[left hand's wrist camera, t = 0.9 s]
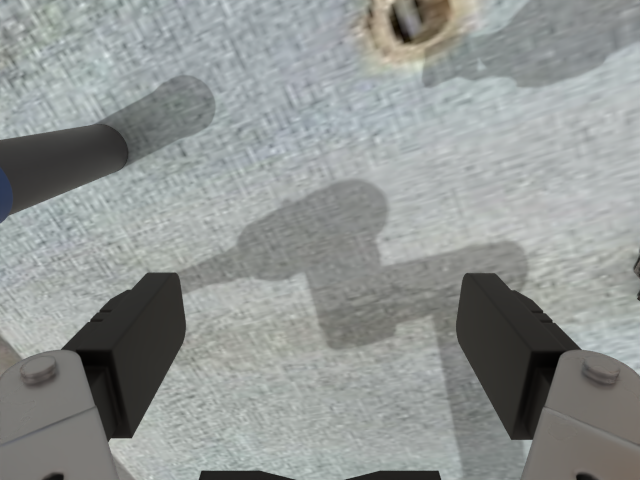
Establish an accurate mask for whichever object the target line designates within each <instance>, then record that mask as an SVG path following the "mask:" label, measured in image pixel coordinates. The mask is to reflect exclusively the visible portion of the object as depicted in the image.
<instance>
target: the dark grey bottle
mask: <svg viewBox="0 0 640 480" xmlns="http://www.w3.org/2000/svg"><path fill="white" fill-rule="evenodd" d="M127 157H128V149H127V145H126V143H125V141H124V139H123V137H122V136H121V135H120V134H119V133H118V132H117V131H116V130H114V129H113V128H111V127H109V126H106V125H102V124H96V125H89V126H83V127H77V128H71V129H65V130H59V131H53V132H47V133H41V134H34V135H28V136H22V137H16V138H10V139H4V140H0V168H1V169H2V170H3V171H4V173H5V174H6V176H7V178H8V180H9V182H10V185H11V188H12V193H13V204H12V208H11V211H10V213H9V215H11V214H14V213H16V212H19V211H21V210H24V209H26V208H28V207H31V206H33V205H36V204H38V203H41V202H43V201H45V200H48V199H50V198H53V197H55V196H58V195H60V194H63V193H65V192H67V191H70V190H72V189H75V188H77V187H80V186H82V185H84V184H87V183H89V182H92V181H94V180H97V179H99V178H101V177H104V176H106V175H109V174H111V173H114V172H116V171H118V170H120V169H121V168H122V167H123V166H124V165H125V163H126V161H127ZM9 215H8V216H9Z"/></svg>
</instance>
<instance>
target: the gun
mask: <svg viewBox="0 0 640 480" xmlns="http://www.w3.org/2000/svg"><path fill="white" fill-rule="evenodd" d="M634 272H635V273H636V275H637V276H638V277H639V278H640V260H639V262H638V264H637V266H636V268H635V270H634ZM637 299H638V300H639V301H640V295H639V296H638V298H637Z"/></svg>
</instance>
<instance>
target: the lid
mask: <svg viewBox="0 0 640 480" xmlns="http://www.w3.org/2000/svg"><path fill="white" fill-rule="evenodd" d="M12 204H13V193H12V188H11V185H10V182H9V180H8V178H7V176H6V174H5V173H4V171H3V170H2V169H1V168H0V223H1V222H3V221H4V220H5V219H6V218H7V216H8V215H9V213H10V211H11V208H12Z"/></svg>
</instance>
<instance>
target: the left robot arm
mask: <svg viewBox="0 0 640 480" xmlns="http://www.w3.org/2000/svg"><path fill="white" fill-rule="evenodd" d="M552 321H553V320H552V319H551V318H550V317H549V316H548V315H547V314H546V313H543V310H542V309H541V308H540V307H539V306H538V305H537V304H536V303H535V302H534V301H533V300H531V299H529V298H528V297H526V296H524V295H522V294H520V293H519V292H517V291H515V290H510V289H509V287H508V286H507V285H506V284H505V283H504V282H503V281H502V280H501V279H500V278H499V277H498V276H497V275H496V274H495V273H466V274H465V275H464V277H463V280H462V286H461V293H460V300H459V307H458V314H457V321H456V332H457V338H458V342H459V344H460V346H461V348H462V350H463V352H464V353H465V355H466V357H467V359H468V361H469V363H470V365H471V366H472V368H473V370H474V372H475V374H476V376H477V377H478V379H479V381H480V383H481V385H482V387H483V388H484V390H485V392H486V394H487V396H488V398H489V399H490V401H491V403H492V405H493V407H494V409H495V411H496V412H497V414H498V416H499V418H500V420H501V422H502V423H503V425H504V427H505V429H506V431H507V433H508V434H509V436H510V438H511V440H533V441H532V444H531V448H530V451H529V454H528V457H527V460H526V464H525V467H524V470H523V473H522V477H521V480H640V376H639V375H638V374H637V373H636V372H635V371H634V370H633V369H631V368H630V367H629V366H627V365H625V364H624V363H622V362H620V361H618V360H616V359H614V358H612V357H610V356H607V355H604V354H601V353H597V352H593V351H587V350H582V349H581V348H580V347H579V346H578V345H577V344H576V343H575V342H574V341H573V340H572V339H571V338H570V337H569V336H568V335H567V334H566V333H565V332H564V331H563V330H562V329H561V328H560V327H559V326H558V325H557V324H556V323H553V322H552ZM185 332H186V320H185V313H184V306H183V299H182V292H181V285H180V279H179V276H178V275H177V273H147V274H146V275H145V276H144V277H143V278H142V279H141V280H140V281H139V282H138V283H137V284H136V285H135V286H134V287H133V288H132V290H126V291H124V292H123V293H121V294H119V295H117V296H115V297H114V298H112V299H110V300H109V301H108V302H107V303H106V304H105V305H104V306H103V307H102V308H101V309H100V312H99V313H96V314H95V315H94V316H93V317H92V319H91V321H90V322H88V323H87V324H86V325H85V326H84V327H83V328H82V329H81V330H80V331H79V332H78V333H77V334H76V335H75V336H74V337H73V338H72V339H71V340H70V341H69V342H68V343H67V344H66V345H65V346H64V347H63V348H62V349H61V350H53V351H47V352H43V353H39V354H36V355H33V356H30V357H28V358H26V359H24V360H22V361H20V362H18V363H16V364H15V365H13V366H11V367H10V368H9V369H7V370H6V371H5V372H4V373H3V374H2V375H1V376H0V480H119V477H118V473H117V470H116V467H115V464H114V460H113V457H112V454H111V451H110V448H109V444H108V442H109V440H110V439H111V438H132V437H133V435H134V433H135V431H136V429H137V428H138V426H139V424H140V422H141V420H142V418H143V416H144V414H145V413H146V411H147V409H148V407H149V405H150V403H151V401H152V400H153V398H154V396H155V394H156V392H157V390H158V388H159V387H160V385H161V383H162V381H163V379H164V377H165V375H166V374H167V372H168V370H169V368H170V366H171V364H172V362H173V360H174V359H175V357H176V355H177V353H178V351H179V349H180V347H181V346H182V344H183V341H184V338H185ZM199 480H294V479H290V478H286V477H283V476H279V475H275V474H271V473H267V472H263V471H201V474H200V477H199ZM346 480H441V477H440V474H439V471H377V472H373V473H369V474H365V475H361V476H357V477H354V478H350V479H346Z"/></svg>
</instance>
